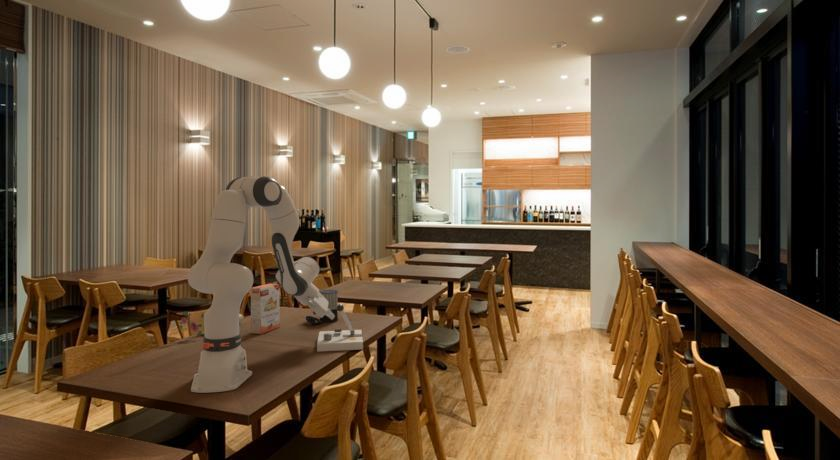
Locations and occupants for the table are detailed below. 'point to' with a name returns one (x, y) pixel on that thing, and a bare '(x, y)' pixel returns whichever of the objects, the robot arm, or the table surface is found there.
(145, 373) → the table surface
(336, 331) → the rocker switch
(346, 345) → the switch panel
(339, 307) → the toggle lever
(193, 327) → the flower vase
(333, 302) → the milk frother
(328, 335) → the push button
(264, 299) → the cracker box
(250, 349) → the table surface
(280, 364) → the table surface
